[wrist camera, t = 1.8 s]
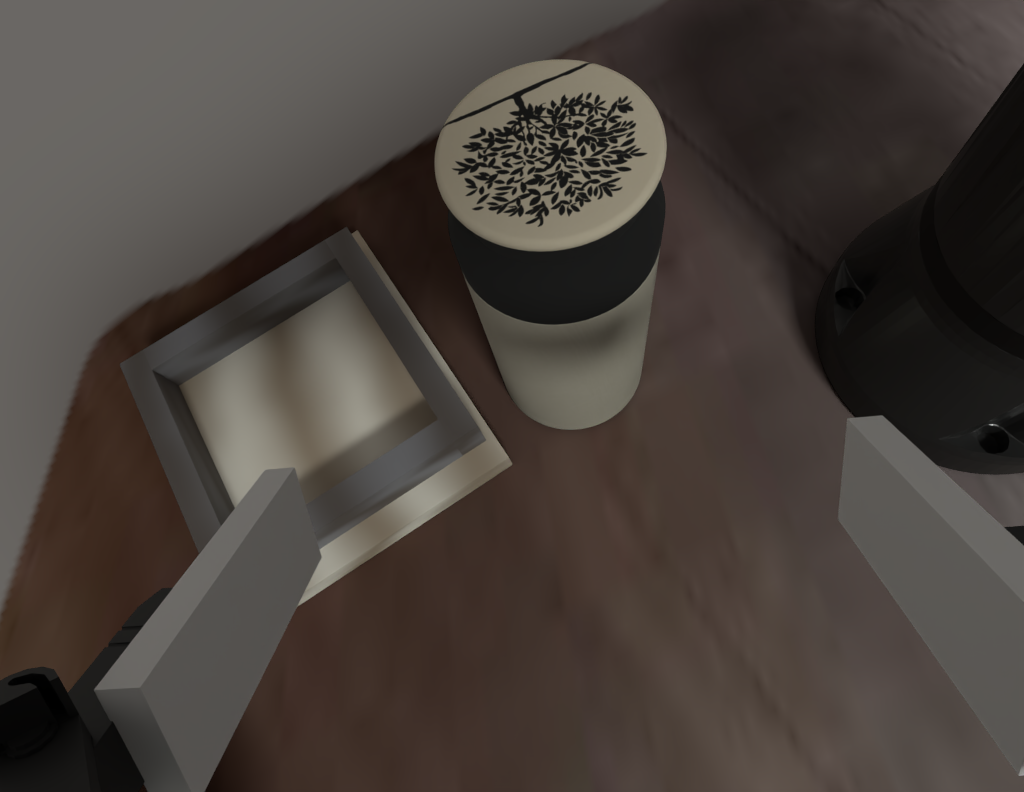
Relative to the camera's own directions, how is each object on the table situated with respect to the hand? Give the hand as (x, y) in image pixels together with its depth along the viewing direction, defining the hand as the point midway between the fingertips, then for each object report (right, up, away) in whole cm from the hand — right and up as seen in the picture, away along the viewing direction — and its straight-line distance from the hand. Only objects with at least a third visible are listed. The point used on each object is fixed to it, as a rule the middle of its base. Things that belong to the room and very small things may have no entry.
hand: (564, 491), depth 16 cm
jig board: (-13, +1, +23) cm, 26 cm away
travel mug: (+2, +4, +22) cm, 22 cm away
